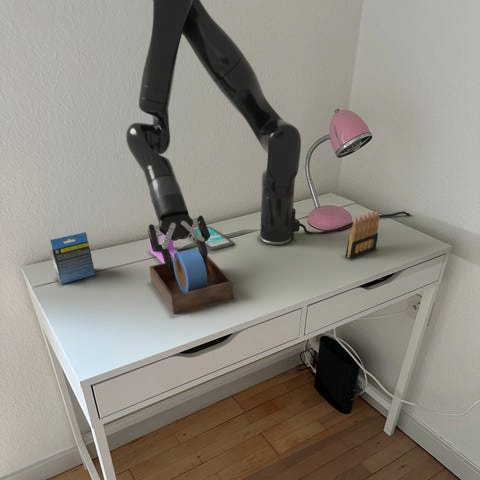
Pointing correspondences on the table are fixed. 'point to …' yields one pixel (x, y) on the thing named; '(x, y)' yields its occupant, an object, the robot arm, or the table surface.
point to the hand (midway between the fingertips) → (187, 261)
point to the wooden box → (178, 301)
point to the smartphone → (216, 240)
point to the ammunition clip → (363, 235)
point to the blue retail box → (72, 258)
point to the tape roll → (190, 270)
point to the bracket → (170, 247)
